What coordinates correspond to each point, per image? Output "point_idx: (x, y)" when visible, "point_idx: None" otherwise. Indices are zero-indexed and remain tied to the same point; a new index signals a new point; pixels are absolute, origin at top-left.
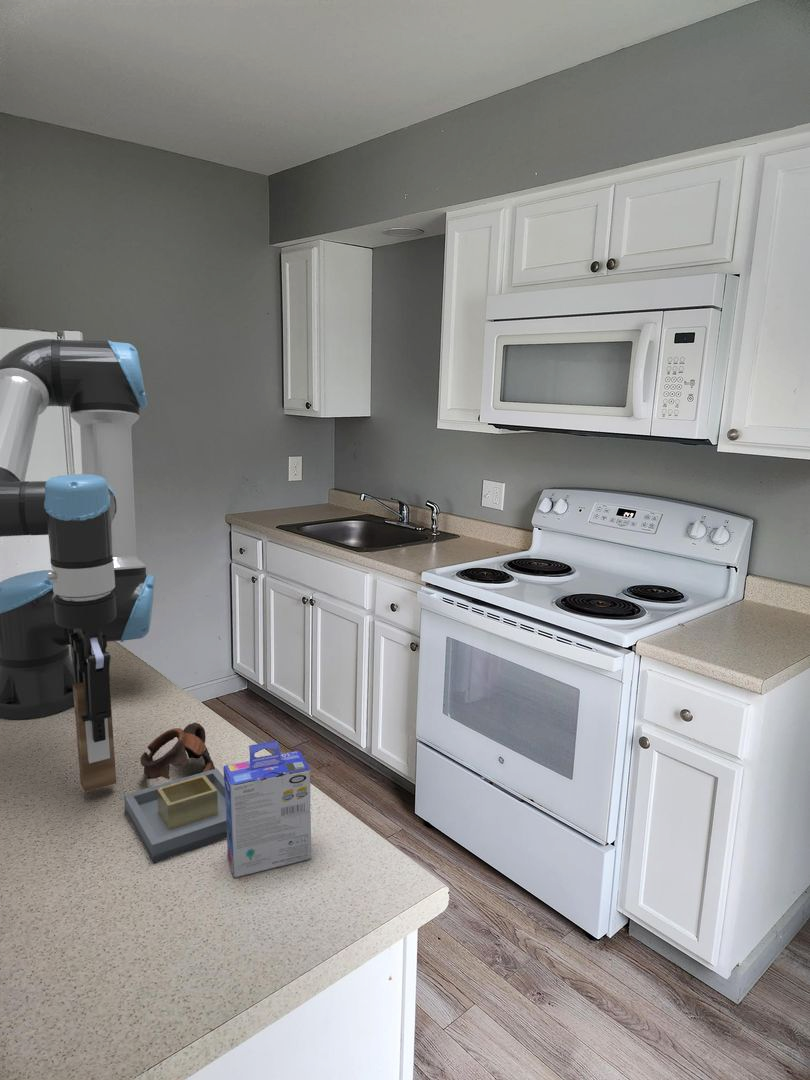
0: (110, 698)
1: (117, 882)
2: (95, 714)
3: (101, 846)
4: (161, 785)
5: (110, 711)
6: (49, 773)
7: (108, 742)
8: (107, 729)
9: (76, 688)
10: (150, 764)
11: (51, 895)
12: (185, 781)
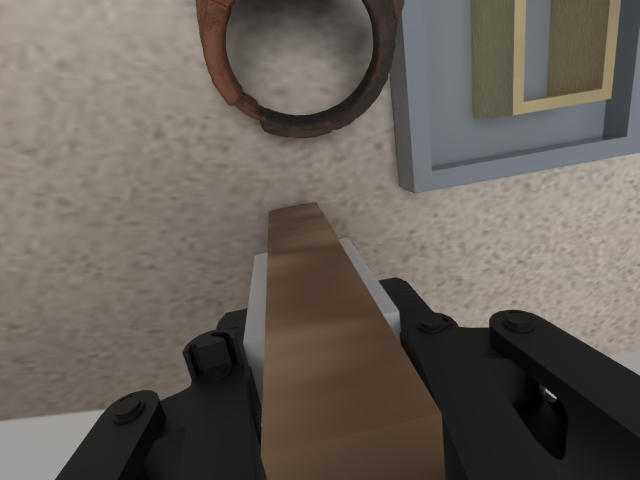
0: (392, 334)
1: (611, 214)
2: (555, 400)
3: (496, 236)
4: (414, 93)
5: (562, 331)
6: (162, 333)
7: (361, 257)
8: (374, 279)
9: None
10: (360, 112)
11: (578, 308)
12: (520, 21)
